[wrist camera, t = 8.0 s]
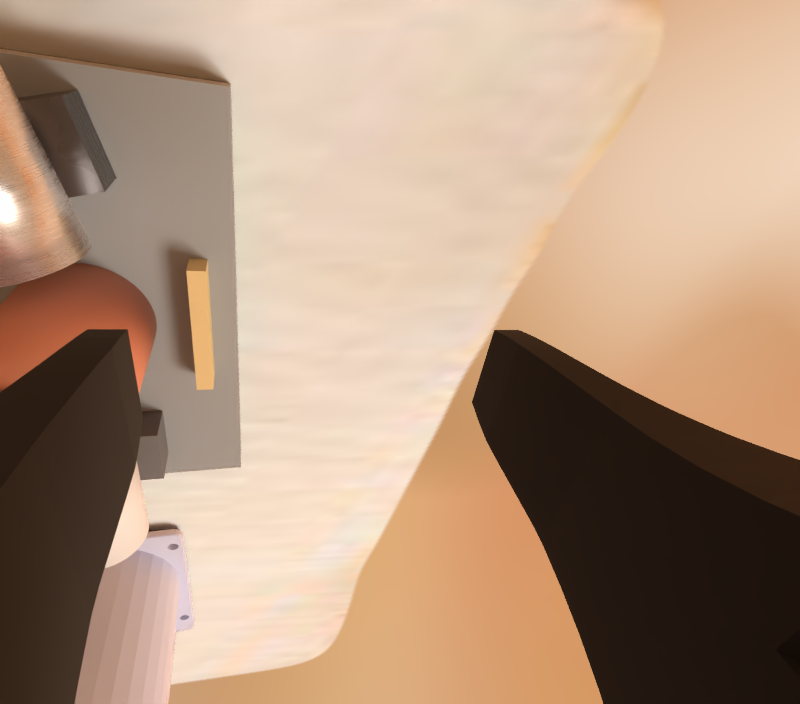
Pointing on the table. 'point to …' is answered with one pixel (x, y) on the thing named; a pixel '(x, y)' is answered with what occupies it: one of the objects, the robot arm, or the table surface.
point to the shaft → (45, 181)
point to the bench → (162, 254)
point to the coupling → (71, 317)
